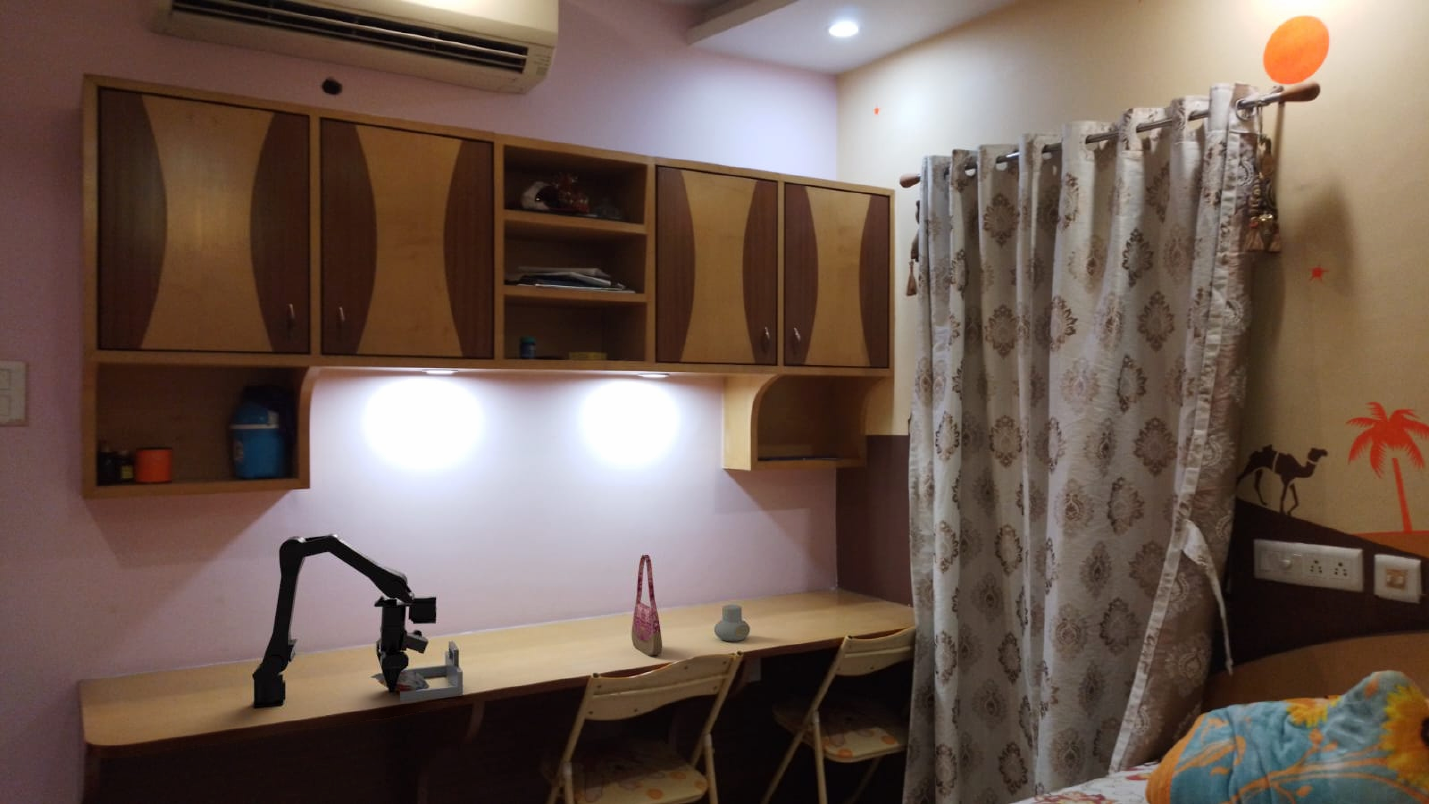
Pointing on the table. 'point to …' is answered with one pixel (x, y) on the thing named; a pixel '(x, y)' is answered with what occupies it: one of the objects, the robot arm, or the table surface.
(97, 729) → the table surface
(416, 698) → the grey u-shaped frame
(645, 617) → the shoulder bag
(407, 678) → the packaged food
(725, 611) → the air freshener
